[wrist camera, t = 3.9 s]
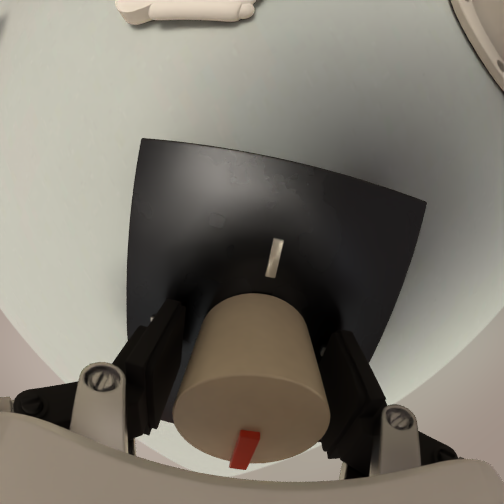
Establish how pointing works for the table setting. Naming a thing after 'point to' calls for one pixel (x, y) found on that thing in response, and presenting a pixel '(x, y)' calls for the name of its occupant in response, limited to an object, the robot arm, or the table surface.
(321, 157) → the table surface
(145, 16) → the white abstract figurine
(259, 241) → the panel
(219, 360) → the knob
